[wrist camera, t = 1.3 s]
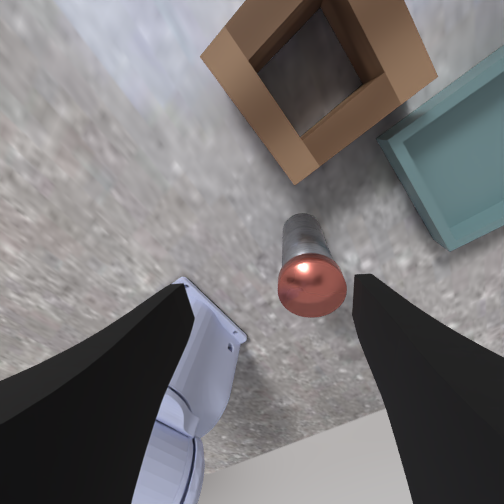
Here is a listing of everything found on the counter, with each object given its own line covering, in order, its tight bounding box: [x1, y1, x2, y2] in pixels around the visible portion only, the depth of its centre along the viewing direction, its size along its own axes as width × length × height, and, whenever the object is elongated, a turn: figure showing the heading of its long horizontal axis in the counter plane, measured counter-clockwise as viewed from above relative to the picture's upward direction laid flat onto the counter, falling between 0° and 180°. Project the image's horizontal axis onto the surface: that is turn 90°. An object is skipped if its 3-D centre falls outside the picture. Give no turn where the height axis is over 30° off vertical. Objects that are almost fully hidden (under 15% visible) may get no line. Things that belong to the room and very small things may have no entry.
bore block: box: [200, 0, 438, 185], centre depth 13 cm, size 8×8×4 cm
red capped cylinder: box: [278, 213, 347, 317], centre depth 16 cm, size 3×3×8 cm
